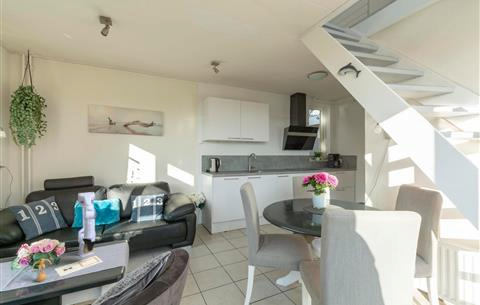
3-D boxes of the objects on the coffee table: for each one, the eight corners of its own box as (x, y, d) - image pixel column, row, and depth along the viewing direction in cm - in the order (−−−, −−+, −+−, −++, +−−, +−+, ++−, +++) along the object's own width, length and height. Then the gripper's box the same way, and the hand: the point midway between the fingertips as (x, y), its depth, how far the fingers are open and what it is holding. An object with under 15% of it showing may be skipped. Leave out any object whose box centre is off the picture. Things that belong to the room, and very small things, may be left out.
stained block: (83, 252, 138) (83, 244, 138) (91, 249, 141) (91, 242, 141) (85, 254, 135) (85, 246, 135) (93, 251, 139) (93, 243, 139)
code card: (54, 269, 130) (54, 268, 130) (95, 255, 147) (95, 255, 147) (60, 276, 122) (60, 276, 122) (103, 261, 139) (103, 261, 139)
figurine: (31, 285, 114) (32, 263, 114) (30, 281, 118) (31, 259, 118) (51, 278, 120) (52, 257, 120) (50, 274, 124) (51, 254, 124)
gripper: (78, 228, 140) (78, 248, 140) (86, 233, 131) (85, 255, 131) (91, 225, 146) (90, 245, 145) (98, 230, 137) (98, 251, 137)
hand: (89, 249), depth 139 cm, fingers closed on stained block, 4 cm apart
